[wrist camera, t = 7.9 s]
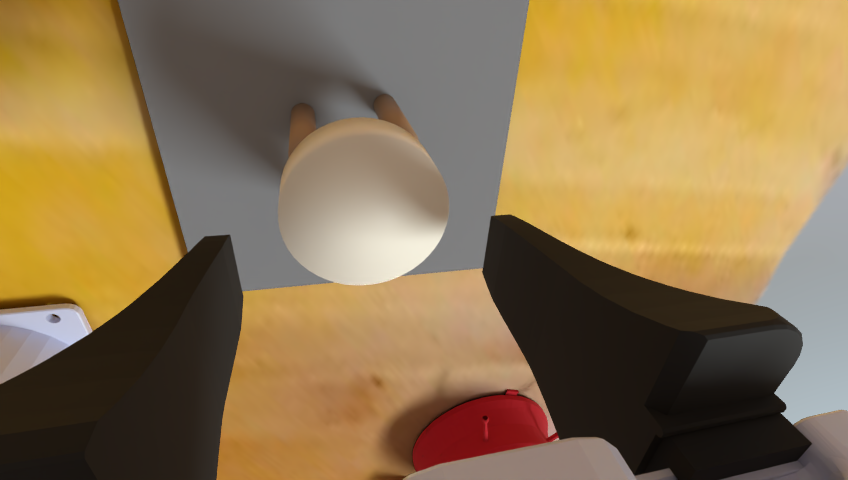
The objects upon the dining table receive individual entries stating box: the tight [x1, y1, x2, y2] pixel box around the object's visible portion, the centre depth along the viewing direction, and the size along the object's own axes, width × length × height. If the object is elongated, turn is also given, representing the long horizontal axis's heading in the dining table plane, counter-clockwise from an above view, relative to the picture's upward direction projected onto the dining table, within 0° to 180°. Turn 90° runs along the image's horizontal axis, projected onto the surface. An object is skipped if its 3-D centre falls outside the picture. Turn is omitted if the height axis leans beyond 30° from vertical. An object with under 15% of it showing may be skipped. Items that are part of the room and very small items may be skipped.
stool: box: [278, 94, 449, 285], centre depth 16 cm, size 5×5×6 cm
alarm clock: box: [412, 389, 558, 472], centre depth 32 cm, size 10×6×15 cm
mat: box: [118, 0, 529, 291], centre depth 19 cm, size 14×13×1 cm
